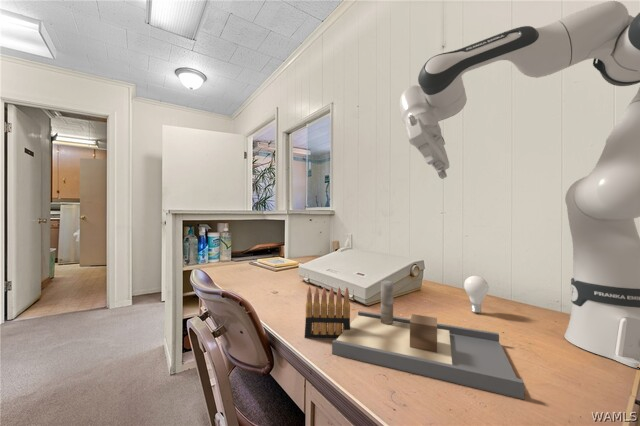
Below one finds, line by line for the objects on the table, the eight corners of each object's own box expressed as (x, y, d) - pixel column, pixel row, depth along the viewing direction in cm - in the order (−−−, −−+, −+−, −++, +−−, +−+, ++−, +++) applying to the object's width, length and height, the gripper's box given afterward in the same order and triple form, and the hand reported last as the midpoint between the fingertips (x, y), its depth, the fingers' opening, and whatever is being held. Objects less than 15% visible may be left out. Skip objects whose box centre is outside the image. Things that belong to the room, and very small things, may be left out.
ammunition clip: (304, 339, 61) (305, 287, 62) (304, 336, 63) (305, 285, 63) (350, 340, 61) (351, 288, 61) (349, 337, 63) (350, 286, 63)
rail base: (498, 344, 59) (498, 333, 59) (524, 399, 41) (524, 383, 41) (359, 320, 72) (359, 310, 72) (332, 353, 54) (332, 341, 54)
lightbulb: (459, 310, 81) (459, 274, 82) (475, 308, 83) (475, 273, 83) (477, 317, 75) (476, 278, 75) (493, 315, 77) (493, 277, 77)
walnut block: (437, 341, 56) (437, 317, 56) (436, 352, 51) (436, 326, 51) (412, 337, 58) (412, 314, 58) (409, 347, 53) (409, 322, 53)
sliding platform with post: (449, 333, 62) (449, 287, 62) (452, 369, 47) (452, 308, 47) (357, 318, 71) (357, 277, 71) (335, 343, 56) (336, 292, 56)
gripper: (419, 104, 68) (434, 145, 62) (446, 142, 82) (460, 179, 76) (397, 118, 72) (409, 158, 65) (426, 153, 86) (438, 188, 79)
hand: (437, 170), depth 71 cm, fingers open, 8 cm apart
